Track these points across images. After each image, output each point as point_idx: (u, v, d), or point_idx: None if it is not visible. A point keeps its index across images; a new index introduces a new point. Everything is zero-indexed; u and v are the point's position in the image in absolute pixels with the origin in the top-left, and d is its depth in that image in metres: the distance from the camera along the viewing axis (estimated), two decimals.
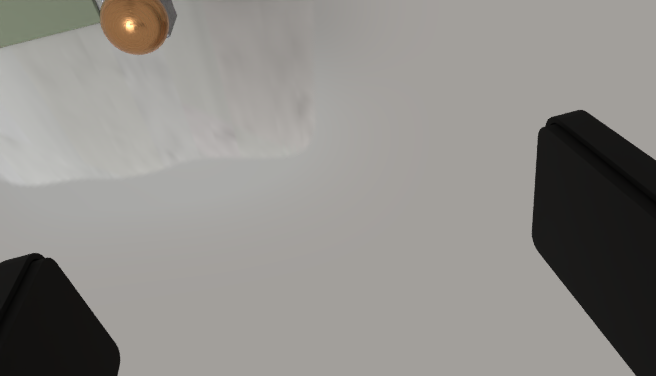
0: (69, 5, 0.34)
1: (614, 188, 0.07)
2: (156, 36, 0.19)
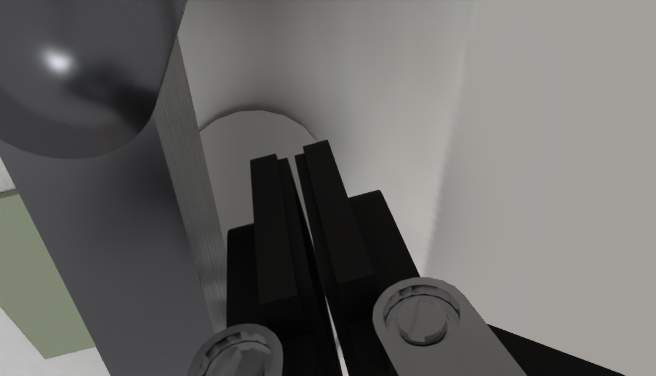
0: None
1: (307, 215, 0.08)
2: None
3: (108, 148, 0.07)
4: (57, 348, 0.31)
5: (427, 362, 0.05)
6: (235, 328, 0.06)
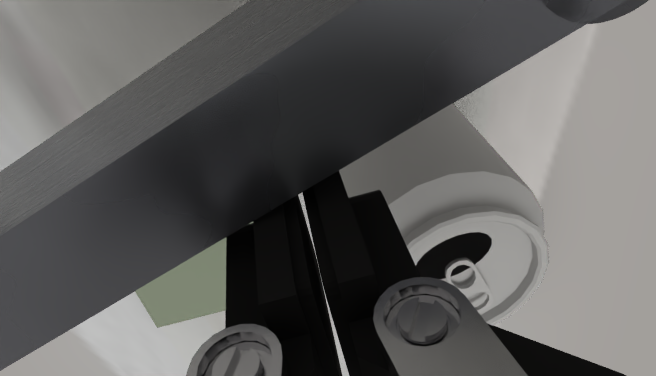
0: None
1: (307, 214, 0.08)
2: None
3: None
4: (170, 316, 0.31)
5: (427, 362, 0.05)
6: (234, 328, 0.06)
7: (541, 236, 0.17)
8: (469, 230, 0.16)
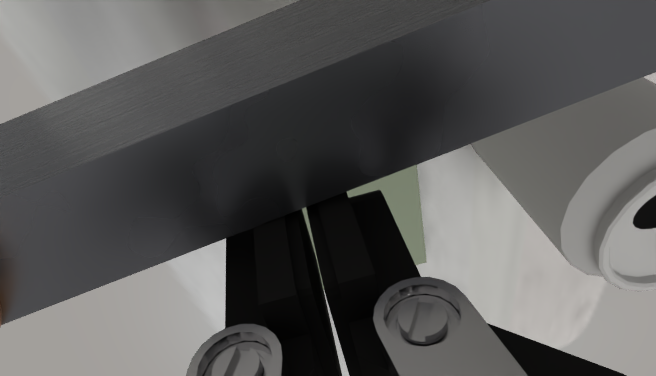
0: None
1: None
2: None
3: None
4: None
5: (428, 362, 0.05)
6: (234, 328, 0.06)
7: None
8: None
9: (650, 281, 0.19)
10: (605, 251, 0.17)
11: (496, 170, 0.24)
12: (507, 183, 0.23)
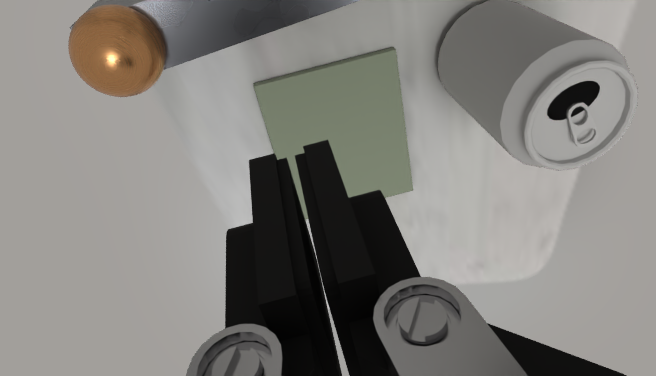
0: (392, 179, 0.39)
1: None
2: (108, 92, 0.14)
3: None
4: None
5: (428, 362, 0.05)
6: (234, 328, 0.06)
7: (634, 82, 0.25)
8: (586, 78, 0.24)
9: (565, 163, 0.27)
10: (528, 134, 0.25)
11: (461, 99, 0.32)
12: (468, 106, 0.31)
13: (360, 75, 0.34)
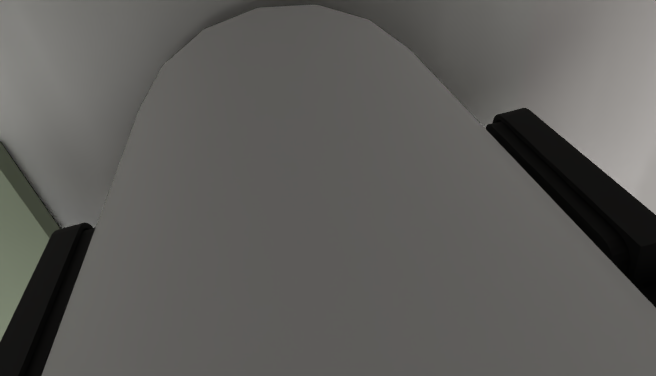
0: None
1: (544, 181, 0.07)
2: None
3: None
4: None
5: None
6: None
7: None
8: None
9: None
10: None
11: None
12: None
13: None
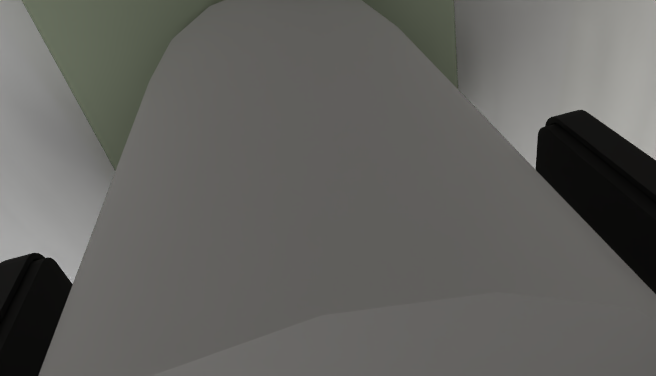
0: None
1: (614, 188, 0.07)
2: None
3: None
4: None
5: None
6: None
7: None
8: None
9: None
10: None
11: None
12: None
13: None
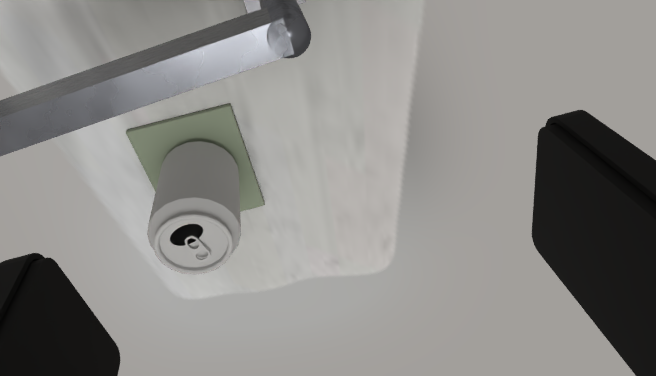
0: (246, 197, 0.51)
1: (614, 188, 0.07)
2: None
3: (270, 47, 0.27)
4: None
5: None
6: None
7: (221, 225, 0.38)
8: (188, 222, 0.38)
9: (198, 269, 0.41)
10: (158, 256, 0.39)
11: None
12: None
13: (206, 124, 0.46)
